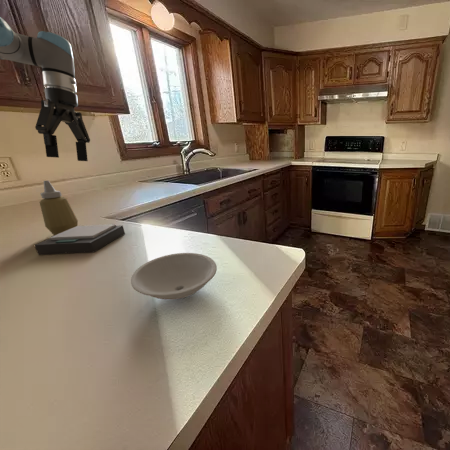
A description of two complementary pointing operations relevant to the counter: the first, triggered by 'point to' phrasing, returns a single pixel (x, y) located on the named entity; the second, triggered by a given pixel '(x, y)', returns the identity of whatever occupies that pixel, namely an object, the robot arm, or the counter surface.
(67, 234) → the kitchen scale
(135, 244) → the counter surface
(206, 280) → the dish
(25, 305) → the counter surface
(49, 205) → the squeeze bottle
